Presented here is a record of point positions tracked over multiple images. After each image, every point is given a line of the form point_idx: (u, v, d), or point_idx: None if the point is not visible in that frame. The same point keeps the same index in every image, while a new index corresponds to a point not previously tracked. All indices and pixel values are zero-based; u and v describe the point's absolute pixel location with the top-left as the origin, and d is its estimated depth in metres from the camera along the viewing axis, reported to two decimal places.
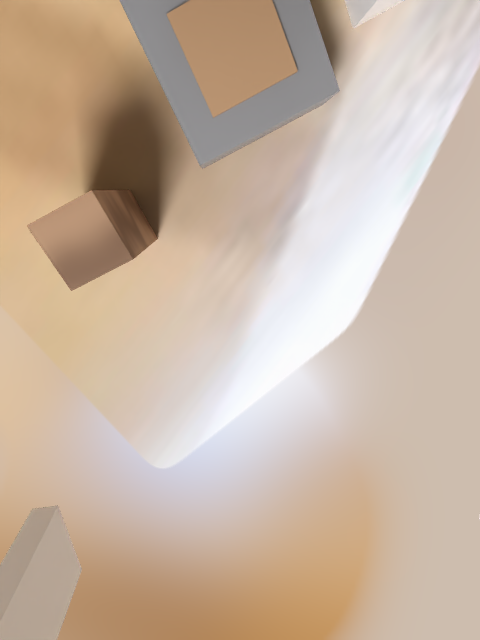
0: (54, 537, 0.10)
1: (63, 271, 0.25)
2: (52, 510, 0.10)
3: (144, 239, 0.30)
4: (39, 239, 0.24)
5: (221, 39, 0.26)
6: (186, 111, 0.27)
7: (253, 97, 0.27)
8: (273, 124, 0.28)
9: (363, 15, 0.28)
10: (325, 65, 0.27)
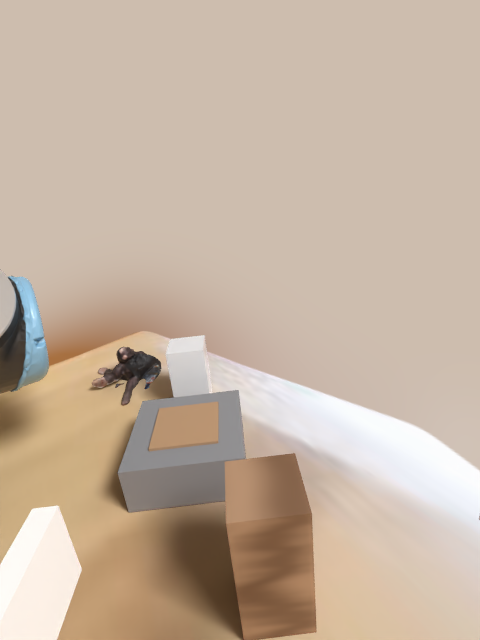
0: (54, 537, 0.10)
1: (286, 511, 0.21)
2: (52, 510, 0.10)
3: None
4: (244, 518, 0.21)
5: (180, 428, 0.39)
6: (205, 456, 0.35)
7: (219, 422, 0.40)
8: (240, 416, 0.40)
9: None
10: (222, 393, 0.45)
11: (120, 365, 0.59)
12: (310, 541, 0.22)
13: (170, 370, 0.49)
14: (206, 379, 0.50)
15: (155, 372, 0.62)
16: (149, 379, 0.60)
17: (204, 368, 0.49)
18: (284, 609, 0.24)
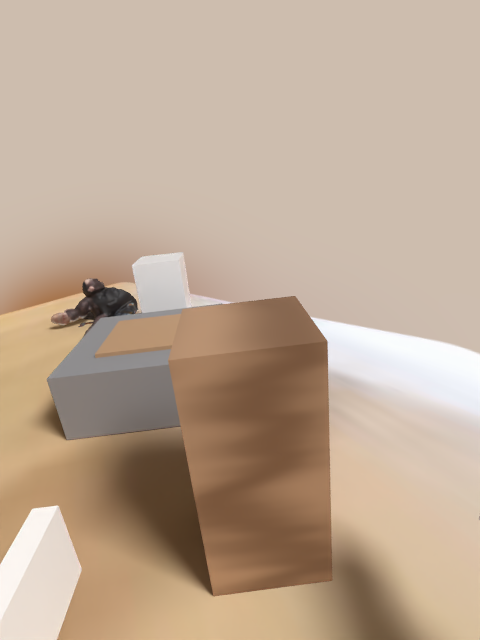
0: (54, 537, 0.10)
1: (281, 342, 0.12)
2: (53, 510, 0.10)
3: None
4: (203, 353, 0.11)
5: (141, 335, 0.29)
6: None
7: None
8: None
9: None
10: None
11: (86, 299, 0.50)
12: (324, 403, 0.12)
13: (138, 287, 0.39)
14: (184, 300, 0.40)
15: (129, 311, 0.52)
16: None
17: (181, 285, 0.39)
18: (280, 538, 0.14)
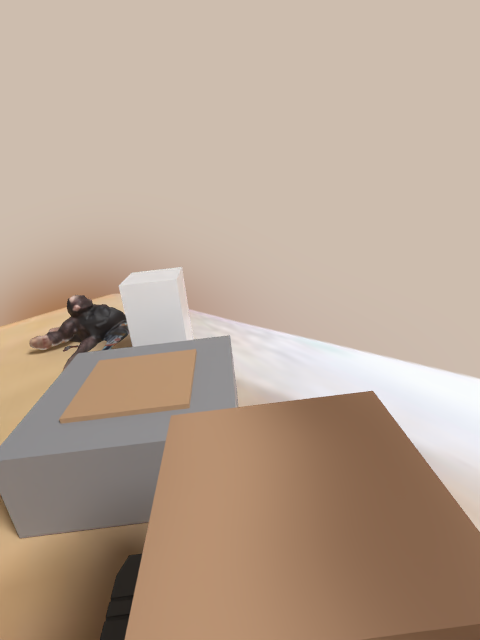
0: None
1: (411, 600, 0.05)
2: None
3: None
4: (213, 639, 0.04)
5: (125, 386, 0.22)
6: (162, 430, 0.18)
7: (195, 377, 0.23)
8: (230, 368, 0.23)
9: None
10: (204, 340, 0.28)
11: (71, 320, 0.43)
12: None
13: (127, 312, 0.32)
14: (182, 327, 0.33)
15: (122, 332, 0.45)
16: (112, 341, 0.44)
17: (179, 309, 0.32)
18: None
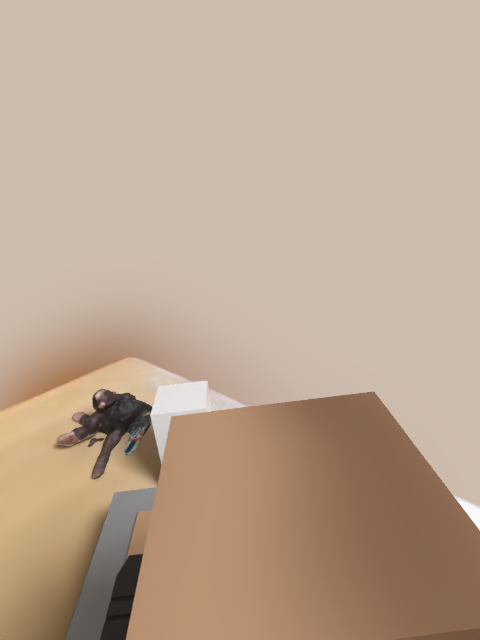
0: None
1: (414, 603, 0.05)
2: None
3: None
4: None
5: None
6: None
7: None
8: None
9: None
10: None
11: (97, 415, 0.44)
12: None
13: (158, 437, 0.33)
14: None
15: (145, 423, 0.46)
16: (136, 434, 0.45)
17: None
18: None
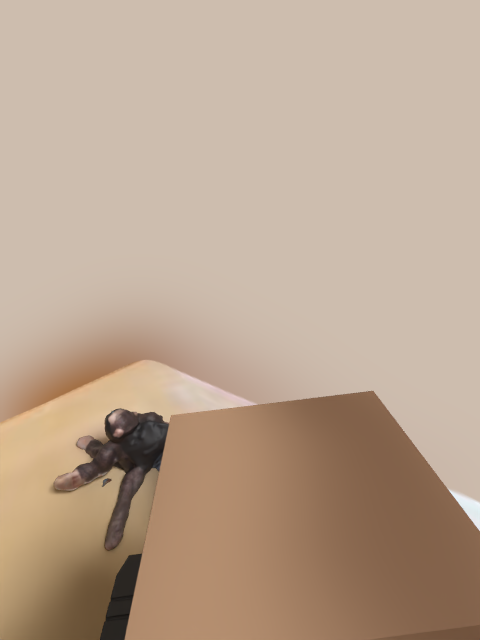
0: None
1: (412, 601, 0.05)
2: None
3: None
4: None
5: None
6: None
7: None
8: None
9: None
10: None
11: (111, 446, 0.31)
12: None
13: None
14: None
15: None
16: None
17: None
18: None
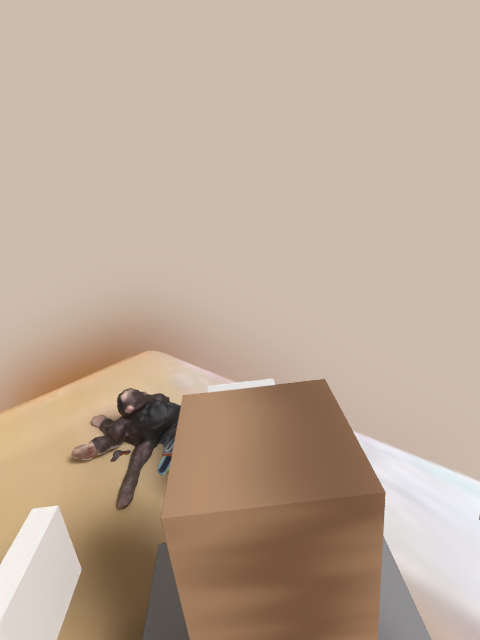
0: (54, 537, 0.10)
1: (319, 487, 0.08)
2: (52, 510, 0.10)
3: None
4: (210, 505, 0.08)
5: None
6: None
7: None
8: (425, 633, 0.15)
9: None
10: None
11: (122, 422, 0.34)
12: (375, 563, 0.09)
13: None
14: None
15: None
16: (172, 447, 0.35)
17: None
18: None
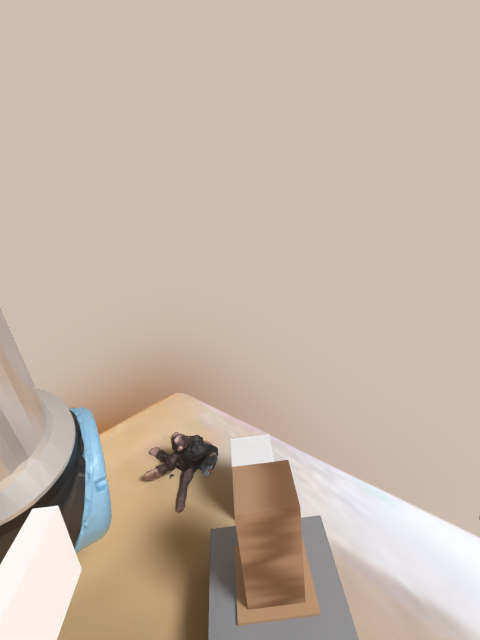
0: (54, 537, 0.10)
1: (281, 505, 0.28)
2: (52, 510, 0.10)
3: None
4: (248, 511, 0.28)
5: None
6: None
7: (312, 575, 0.34)
8: (334, 565, 0.34)
9: None
10: (303, 520, 0.39)
11: (175, 456, 0.53)
12: (299, 528, 0.28)
13: None
14: None
15: (212, 462, 0.55)
16: (206, 472, 0.54)
17: None
18: (280, 583, 0.30)
